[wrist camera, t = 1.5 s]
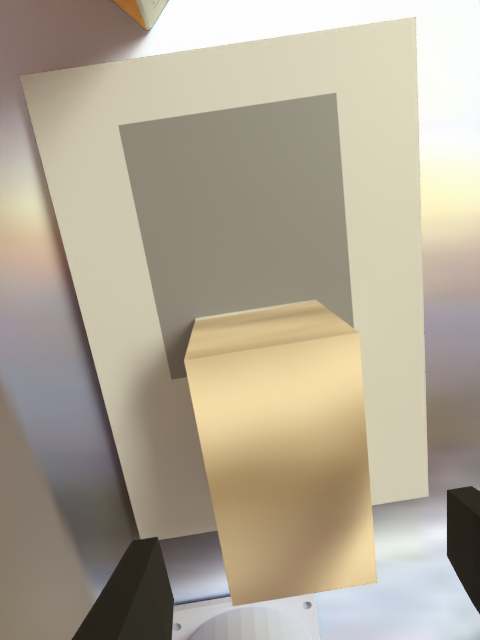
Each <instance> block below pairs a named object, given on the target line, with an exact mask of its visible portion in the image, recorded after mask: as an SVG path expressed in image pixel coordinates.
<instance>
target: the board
mask: <svg viewBox="0 0 480 640" xmlns="http://www.w3.org/2000/svg"><path fill="white" fill-rule="evenodd" d="M19 77H20V80H21V84H22V88H23V92H24V96H25V100H26V103H27V107H28V111H29V115H30V119H31V122H32V126H33V130H34V134H35V138H36V142H37V145H38V149H39V153H40V157H41V161H42V165H43V168H44V172H45V176H46V180H47V184H48V187H49V191H50V195H51V199H52V203H53V207H54V210H55V214H56V218H57V222H58V226H59V230H60V233H61V237H62V241H63V245H64V249H65V252H66V256H67V260H68V264H69V268H70V272H71V275H72V279H73V283H74V287H75V291H76V295H77V298H78V302H79V306H80V310H81V314H82V317H83V321H84V325H85V329H86V333H87V337H88V340H89V344H90V348H91V352H92V356H93V360H94V363H95V367H96V371H97V375H98V379H99V382H100V386H101V390H102V394H103V398H104V402H105V405H106V409H107V413H108V417H109V421H110V424H111V428H112V432H113V436H114V440H115V444H116V447H117V451H118V455H119V459H120V463H121V467H122V470H123V474H124V478H125V482H126V486H127V489H128V493H129V497H130V501H131V505H132V509H133V512H134V516H135V520H136V524H137V528H138V532H139V535H140V539H146V538H152V537H158V540H162V539H169V538H175V537H181V536H187V535H193V534H199V533H205V532H212V531H218V530H217V525H216V520H215V514H214V509H213V504H212V499H211V494H210V489H209V484H208V479H207V474H206V469H205V464H204V459H203V454H202V449H201V444H200V439H199V433H198V428H197V423H196V418H195V413H194V408H193V403H192V398H191V393H190V388H189V383H188V378H187V373H186V368H185V363H184V359H185V355H186V351H187V348H188V344H189V341H190V337H191V333H192V330H193V326H194V323H195V319H196V318H200V317H206V316H213V315H219V314H226V313H232V312H238V311H245V310H251V309H258V308H264V307H270V306H277V305H283V304H290V303H296V302H302V301H309V300H315V299H316V300H317V301H318V302H320V303H321V304H322V305H324V306H325V307H326V308H328V309H329V310H330V311H331V312H333V313H334V314H335V315H337V316H338V317H339V318H341V319H342V320H343V321H345V322H346V323H347V324H349V325H350V326H351V327H352V328H354V329H355V330H356V331H358V332H359V336H360V350H361V364H362V378H363V392H364V406H365V420H366V434H367V448H368V462H369V476H370V490H371V504H372V505H377V504H383V503H389V502H396V501H402V500H408V499H414V498H420V497H426V496H428V461H427V423H426V386H425V348H424V311H423V273H422V236H421V198H420V161H419V123H418V86H417V49H416V17H412V18H405V19H399V20H392V21H385V22H378V23H371V24H365V25H358V26H351V27H344V28H338V29H331V30H324V31H317V32H310V33H304V34H297V35H290V36H283V37H277V38H270V39H263V40H256V41H250V42H243V43H236V44H229V45H222V46H216V47H209V48H202V49H195V50H189V51H182V52H175V53H168V54H161V55H155V56H148V57H141V58H134V59H128V60H121V61H114V62H107V63H101V64H94V65H87V66H80V67H73V68H67V69H60V70H53V71H46V72H40V73H33V74H26V75H19Z"/></svg>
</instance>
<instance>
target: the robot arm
mask: <svg viewBox="0 0 480 640" xmlns="http://www.w3.org/2000/svg"><path fill="white" fill-rule="evenodd" d="M447 557H448V559H449V561H450V562H451V564H452V566H453V568H454V570H455V572H456V574H457V576H458V578H459V580H460V581H461V583H462V585H463V587H464V589H465V590H466V592H467V594H468V596H469V598H470V599H471V601H472V603H473V605H474V606H475V608H476V609H477V611H478V612H479V614H480V491H479V490H477V489H475V488H474V487H472V486H470V487H463V488H457V489H451V490H447ZM72 640H320V632H319V624H318V616H317V608H316V600H315V594H314V593H312V594H306V595H299V596H293V597H287V598H281V599H275V600H269V601H263V602H257V603H251V604H245V605H239V606H232V601H231V597H224V598H218V599H212V600H206V601H200V602H194V603H188V604H182V605H176V606H174V598H173V594H172V590H171V587H170V583H169V579H168V575H167V571H166V567H165V563H164V559H163V555H162V551H161V548H160V544H159V540H158V537H152V538H146V539H139V540H133V541H132V543H131V544H130V545H129V547H128V549H127V550H126V552H125V554H124V555H123V557H122V559H121V560H120V562H119V564H118V566H117V567H116V569H115V571H114V572H113V574H112V576H111V577H110V579H109V581H108V582H107V584H106V586H105V587H104V589H103V591H102V592H101V594H100V596H99V597H98V599H97V600H96V602H95V604H94V605H93V607H92V608H91V610H90V612H89V613H88V615H87V616H86V618H85V619H84V621H83V623H82V624H81V626H80V627H79V629H78V631H77V632H76V634H75V636H74V637H73V638H72Z"/></svg>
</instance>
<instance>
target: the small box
mask: <svg viewBox="0 0 480 640" xmlns="http://www.w3.org/2000/svg"><path fill="white" fill-rule="evenodd" d="M112 1H113V2H115V3H116V4H117V5H118V6H119V7H120V8H121V9H122V10H124V11H125V12H126V13H127V14H128V15H129V16H130V17H132V18H133V19H134V20H135V21H136V22H137V23H138V24H139V25H141V26H142V27H143V28H144V29H146V30H149V29H151V28H152V27H153V25H154V23H155V21H156V20H157V18H158V16H159V15H160V13H161V11H162V10H163V8H164V7H165V5H166V3H167V2H168V0H112Z"/></svg>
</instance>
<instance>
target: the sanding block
mask: <svg viewBox="0 0 480 640" xmlns="http://www.w3.org/2000/svg"><path fill="white" fill-rule="evenodd" d="M184 363H185V368H186V373H187V378H188V383H189V388H190V393H191V398H192V403H193V408H194V413H195V418H196V423H197V428H198V433H199V439H200V444H201V449H202V454H203V459H204V464H205V469H206V474H207V479H208V484H209V489H210V494H211V499H212V504H213V509H214V514H215V520H216V525H217V530H218V535H219V540H220V545H221V550H222V555H223V560H224V565H225V570H226V575H227V580H228V585H229V590H230V596H231V601H232V606H239V605H245V604H251V603H257V602H263V601H269V600H275V599H281V598H287V597H293V596H299V595H306V594H312V593H318V592H324V591H330V590H336V589H342V588H348V587H354V586H360V585H366V584H372V583H377V573H376V559H375V545H374V531H373V517H372V504H371V490H370V476H369V462H368V448H367V434H366V420H365V406H364V392H363V378H362V364H361V350H360V336H359V332H358V331H356V330H355V329H354V328H352V327H351V326H350V325H349V324H347V323H346V322H345V321H343V320H342V319H341V318H339V317H338V316H337V315H335V314H334V313H333V312H331V311H330V310H329V309H328V308H326V307H325V306H324V305H322V304H321V303H320V302H318V301H317V300H316V299H315V300H309V301H302V302H296V303H290V304H283V305H277V306H270V307H264V308H258V309H251V310H245V311H238V312H232V313H226V314H219V315H213V316H206V317H200V318H196V319H195V323H194V326H193V330H192V333H191V337H190V341H189V344H188V348H187V351H186V355H185V359H184Z"/></svg>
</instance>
